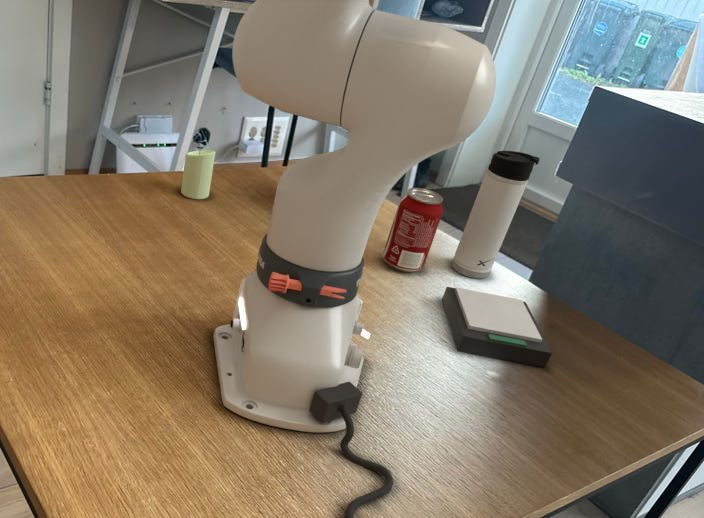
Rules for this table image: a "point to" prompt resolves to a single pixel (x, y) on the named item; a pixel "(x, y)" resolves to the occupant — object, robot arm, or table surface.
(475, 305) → the scale
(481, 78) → the robot arm
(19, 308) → the table surface
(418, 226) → the soda can
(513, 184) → the travel mug
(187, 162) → the candle
